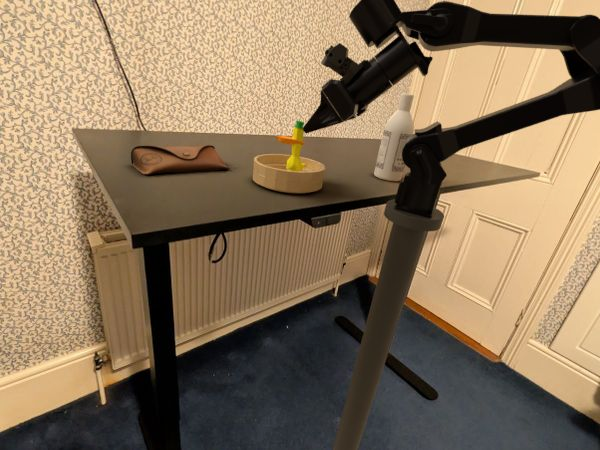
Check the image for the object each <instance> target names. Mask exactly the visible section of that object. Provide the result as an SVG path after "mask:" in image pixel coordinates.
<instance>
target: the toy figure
mask: <svg viewBox="0 0 600 450" xmlns="http://www.w3.org/2000/svg"><path fill="white" fill-rule="evenodd" d="M304 126H305V122H304V121H301V120H296V123H295V124H294V125H293V128H292V136H287V135H279V136H276V140H277V141H278V142H279V143H280V144H285V145H291V155H292V156H291V157H290V158H289V159H288V160H287V167H286V168H287V170H288V171H299V172H300V171H301V170H302V169H303V168H304V167H305V166H306V165H307V164H308V163H302V162H301V160H300V158H299V157H300V154H301V151H302V147H303V146H304V145H305V142H306V141H304V134H305V132H304V131H303V127H304Z"/></svg>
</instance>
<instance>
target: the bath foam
mask: <svg viewBox="0 0 600 450" xmlns="http://www.w3.org/2000/svg"><path fill="white" fill-rule="evenodd" d="M414 97H415V96H414V94H410V93H401V94H400V97H399V100H398V105H397V110H395V112H394V113H393V114H392V115H391V116H389V118H388V120H387V121H386V123H385V125H384V128H383V132H382V136H381V140H380V141H381V142H380V145H379V149H378V154H377V158H376V163H375V167H374V172H373V175H374V177H375V178H377V179H380V180H384V181H388V182H401V181H402V178H403V174H404V171H405V168H406V167H405V166H406V165H405V164H404V162H403V159H402V149H403V144H404V142H405V141H406V139H407V138H408V137H409V136H411V135H413V134H414V133H415V131H414V130H415V124H414V121H413V117H412V114H411V109H412V106H413V101H414Z"/></svg>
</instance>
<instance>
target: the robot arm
mask: <svg viewBox="0 0 600 450" xmlns="http://www.w3.org/2000/svg"><path fill="white" fill-rule="evenodd" d="M348 16H349V17H348V18H349V20H350V21H351V23H352V24H353V26H354V28H355V29H356V30H357V32H358V34H359V35H360V37H361V38H362V40H363V41H364V43H365V45H366V47H367V48H371V47H372V48H373V46H374V47H375V48H376V49H381V48H382V47H383V46H385V45H386V44H387V43H388V42H389V41H391V40H392V39H393V38H394V37H395V36H397V37H396V38H395V39H393V40H392V41H391V42H390V43H388V44H387V45H386V46H385V47H383V48H382V49H381V50H380V51H379V52H378V53H377V54H375V55H374V56H373V57H372V58H370V59H363V60H362V61H361V62H359V63H357V62H356V61H355V60H353V59H352V58H350V57H349V48H348V47H346V46H345V45H343V44H342V43H341V42H338V43H337V44H336V45H334V46H333V45H332V44H331V45H330V46H329V47H328V48H327V49H326V50H325V51H324V57H323V59H322V61H321V62H320V64H321V65H322V66H324V67H325V68H329V69H330V70H331V71H333V72H335V73H336V74H338V75H339V76H341V77H340V78H339V79H332V78H330V79H329V80H328V81H327V82H325V83H324V84H323V85H322V86H321V90H320V93H319V94H320V101H319V102H320V103H319V106H318V107H317V108H316V110H315V111H314V113H313V114H312V115H311V116H310V118H309V119H308V120H307V121H306V123H304V125H303V131H304V134H310V133H313V132H316V131H319V130H323V129H326V128H329V127H333V126H335V125H338V124H342V123H344V122H345V123H346V122H347V121H350V120H353V119H356V118H357V117H360V116H361V115H363V114H364V113H366V111H368V107H369V105H370V104H372V103H373V102H374V101H376V100H377V99H378V98H379V97H381V96H382V95H385V94H386V93H387V92H388V91H389V90H390V89H392V88H393V87H394V86H395V85H397V84H398V83H399V82H400V81H402V80H403V79H404V78H406V77H407V76H408V75H410V74H411V73H412V72H414V71H415V70H416V69H418V71H419V73H420V74H421V76H422V77H426V76H428V73H429V68H430V64H431V63H432V61H433V56H426V55H425V54H424V52H423V51H422V50H421V48H420V47H419V45H418V42H416V41H419V44H420V45H421V47H422V48H423V49H424V50H426V51H427V52H428V51H429V52H442V51H450V50H457V49H462V48H467V47H475V46H486V47H504V48H505V47H507V48H521V49H522V48H525V49H543V50H558V51H559V52H560V53H561V55H562V57H563V59H564V63H565V67H566V70H567V74H568V75H569V77H570V78H569V79H567V80H565V81H564V82H562V83H561V84H559V85H558V86H556V87H555V88H553V89H551V90H550V91H548V92H545V93H542V94H539V95H536V96H534V97H531V98H528V99H526V100H523V101H520V102H518V103H514V104H512V105H509V106H507V107H504V108H501V109H498V110H496V111H493V112H490V113H488V114H485V115H481V116H479V117H476V118H474V119H471V120H468V121H466V122H462V123H459V124H457V125H454V126H449V127H443V126H442V123H441V122H439V121H435V122H433V123H431V124H430V125H427V126H426V127H423V128H414V133H413V135H411V136H409V137H408V138H407V139H406V141H405V142H404V144H403V149H402V159H403V162H404V164H405V166H406V167H407V168H408V169H409V172H408V171H407V173H405V175H404V178H403V179H401V180H400V181H399V184H398V187H397V191H396V195H395V198H394V199H395V203H396V205H395V209H397V210H401V211H405V212H408V213H412V214H416V215H419V216H423V217H427V218H432V215H433V212H434V209H435V208H436V207H435V206H436V203H437V200H438V197H439V194H440V191H441V187H442V185H443V181H444V180H445V179H446V177H447V172H446V170H445V169H444V166H443V165H442V162H444V161H446V160H448V159H449V158H451V157H452V156H454V155H456V154H457V153H459V152H460V151H461V150H463V149H467V148H470V147H473V146H475V145H478V144H481V143H484V142H485V143H486V142H488V141H490V140H493V139H496V138H499V137H502V136H505V135H509V134H512V133H514V132H517V131H520V130H523V129H526V128H529V127H532V126H535V125H538V124H541V123H544V122H546V121H550V120H552V119H556V118H558V117H561V116H567V115H574V114H580V113H587V112H595V111H600V17H599V16H597V15H595V14H584V15H579V16H577V15H549V14H548V15H547V14H520V13H519V14H518V13H517V14H516V13H514V14H513V13H490V12H485V11H481V10H479V9H476V8H475V7H472V6H470V5H466V4H461V3H457V2H453V1H448V0H442V1H437V2H435V3H433V4H432V5H431V6H429V7H428V8H426V9H421V10H410V11H402V10H401V8H400V7H399V6H398V4H397V2H396V0H359V1H358V2H357V3H356V5H354V7H353V8H352V10H351V11H350V13H349V15H348ZM400 28H401V29H402V30H401V29H400ZM402 31H403V32H404V34H405V36H406V37H407V38H411V39H414V40H416V41H412V42H411V43H409V42H408V40H407V39H406V37H405V36H404V34H403V32H402Z"/></svg>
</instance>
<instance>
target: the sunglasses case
mask: <svg viewBox="0 0 600 450" xmlns="http://www.w3.org/2000/svg"><path fill="white" fill-rule="evenodd" d="M130 162H131V166H132V167H133V168H134V169H135V170H136V171H137V172H139V173H140V174H142V175H156V174H175V173H202V172H213V171H220V170H225V169H230V167H229V166H227V165H226V163H225V162H224V160H223V159H222V158H221V156H220V155H219V153H218V152H217V150H216V148H215V146H214V145H210V144H205V145H198V146H196V145H195V146H194V145H182V146H181V145H179V146H178V145H173V146H172V145H171V146H170V145H169V146H167V145H166V146H157V145H148V144H147V145H138V146H134V147H133V148H132V150H131V151H130Z"/></svg>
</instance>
